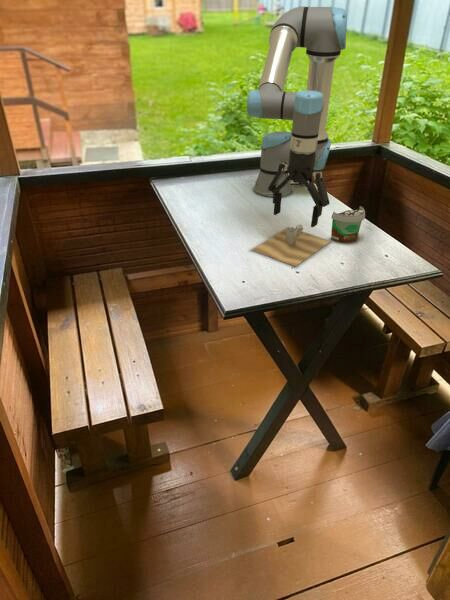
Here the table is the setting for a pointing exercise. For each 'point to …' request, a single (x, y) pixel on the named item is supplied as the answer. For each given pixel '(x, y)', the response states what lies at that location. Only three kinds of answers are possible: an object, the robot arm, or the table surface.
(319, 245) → the wooden board
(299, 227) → the lighter
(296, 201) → the table surface
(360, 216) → the food container
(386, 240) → the table surface
